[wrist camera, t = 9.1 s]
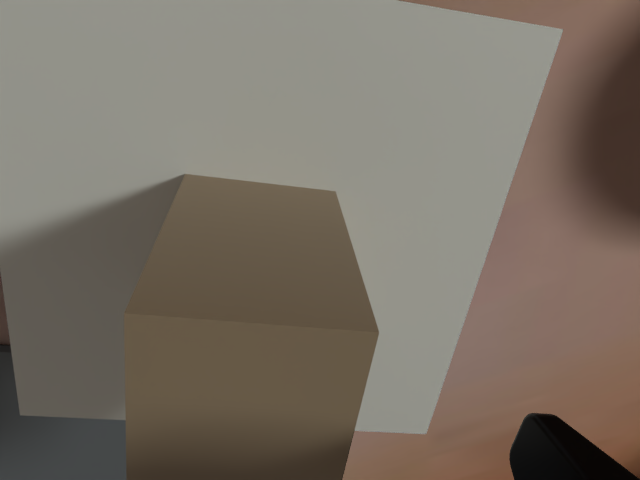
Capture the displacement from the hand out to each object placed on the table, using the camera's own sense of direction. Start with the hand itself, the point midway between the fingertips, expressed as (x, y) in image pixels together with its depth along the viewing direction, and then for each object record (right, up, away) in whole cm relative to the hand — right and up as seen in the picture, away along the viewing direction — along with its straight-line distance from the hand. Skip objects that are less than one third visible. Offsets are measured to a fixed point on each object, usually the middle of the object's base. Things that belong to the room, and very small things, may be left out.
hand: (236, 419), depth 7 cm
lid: (0, +3, +6) cm, 7 cm away
